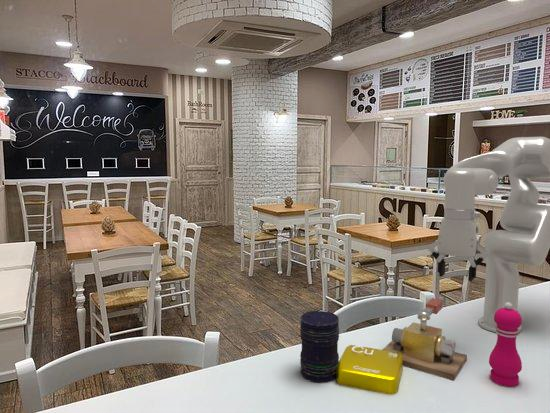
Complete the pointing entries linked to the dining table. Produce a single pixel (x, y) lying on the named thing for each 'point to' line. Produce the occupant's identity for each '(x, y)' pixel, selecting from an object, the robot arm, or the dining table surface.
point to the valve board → (433, 364)
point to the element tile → (370, 369)
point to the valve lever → (430, 309)
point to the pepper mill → (506, 347)
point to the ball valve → (423, 342)
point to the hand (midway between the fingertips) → (456, 277)
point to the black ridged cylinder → (319, 346)
